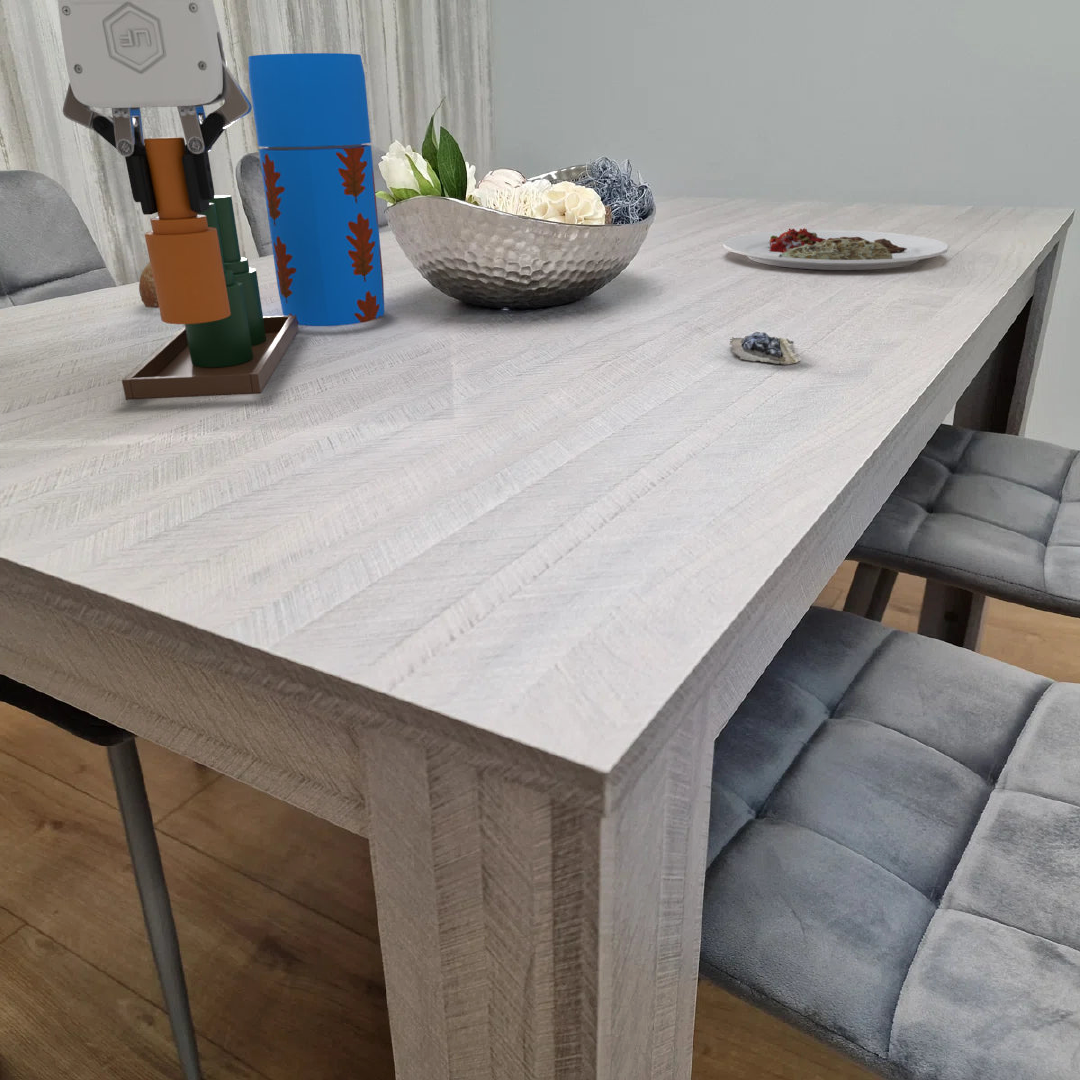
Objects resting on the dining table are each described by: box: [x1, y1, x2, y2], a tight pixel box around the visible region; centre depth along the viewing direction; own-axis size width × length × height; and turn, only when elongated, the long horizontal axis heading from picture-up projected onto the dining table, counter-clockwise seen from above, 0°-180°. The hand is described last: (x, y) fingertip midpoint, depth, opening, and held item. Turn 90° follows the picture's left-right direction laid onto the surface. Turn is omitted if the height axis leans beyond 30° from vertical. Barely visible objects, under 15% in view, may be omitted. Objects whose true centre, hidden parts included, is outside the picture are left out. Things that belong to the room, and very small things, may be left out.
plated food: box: [723, 227, 949, 271], centre depth 131 cm, size 30×30×3 cm
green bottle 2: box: [209, 194, 266, 346], centre depth 86 cm, size 5×5×13 cm
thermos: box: [247, 52, 385, 327], centre depth 94 cm, size 11×11×25 cm
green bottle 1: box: [184, 203, 253, 368], centre depth 80 cm, size 5×5×13 cm
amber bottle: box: [143, 136, 231, 325], centre depth 71 cm, size 5×5×13 cm
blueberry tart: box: [729, 331, 802, 366], centre depth 83 cm, size 7×8×2 cm
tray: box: [121, 315, 299, 401], centre depth 82 cm, size 10×22×2 cm, turn 6°
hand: (176, 209), depth 70 cm, fingers closed on amber bottle, 2 cm apart
